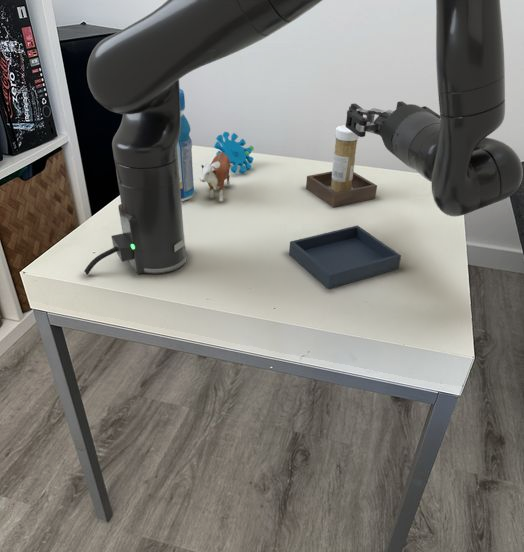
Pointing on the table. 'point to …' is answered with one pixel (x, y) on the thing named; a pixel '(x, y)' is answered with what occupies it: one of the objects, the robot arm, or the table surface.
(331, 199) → the open box
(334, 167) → the sprinkles bottle
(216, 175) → the bull figurine
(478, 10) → the robot arm
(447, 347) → the table surface
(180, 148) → the beverage bottle
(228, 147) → the blue virus toy
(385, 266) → the tray
